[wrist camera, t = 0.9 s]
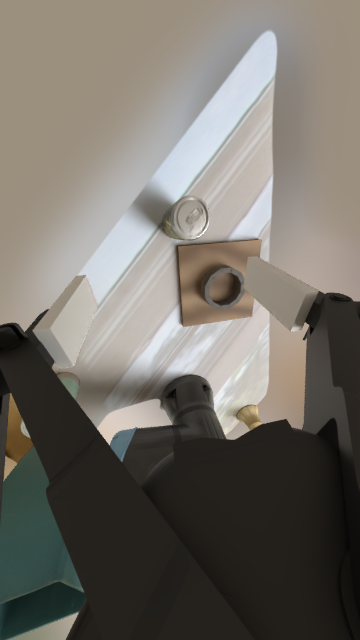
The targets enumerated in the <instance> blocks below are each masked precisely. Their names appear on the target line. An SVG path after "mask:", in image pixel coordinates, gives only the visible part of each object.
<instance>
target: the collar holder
mask: <svg viewBox="0 0 360 640" xmlns="http://www.w3.org/2000/svg"><path fill="white" fill-rule="evenodd" d="M261 241H262V240H248V241H236V242H224V243H211V244H199V245H187V246H178V262H179V278H180V293H181V309H182V325H183V327H186V326H192V325H199V324H206V323H212V322H219V321H226V320H232V319H239V318H245V317H252V311H253V303H254V297H253V296H252V295H251V294H250V293H249V292H248V291H247V290H246V289H244V288H243V284H244V279H245V273H246V267H247V261H248V257H255V256H257V257H260V249H261Z"/></svg>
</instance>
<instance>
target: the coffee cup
mask: <svg viewBox="0 0 360 640" xmlns="http://www.w3.org/2000/svg"><path fill="white" fill-rule="evenodd" d="M57 376H58V378H59V379H60V380H61V382H62V383H63V384H64V386H65V387H66V388H67V390H68V391H69V392H70V394H71V395H72V396H73V398H74V399H75V400H76V397H77V393H78V389H79V385H80V380H79V378H78V377H77V376H76V375H74V374H72V373H61V374H58V375H57ZM20 428H21V431H22V433H23V434H24V435H25V436H27V437H29V438H30V435H29V433H28V431H27V428H26V426H25V424H24V422H23V419H22V420H21V426H20Z"/></svg>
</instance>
